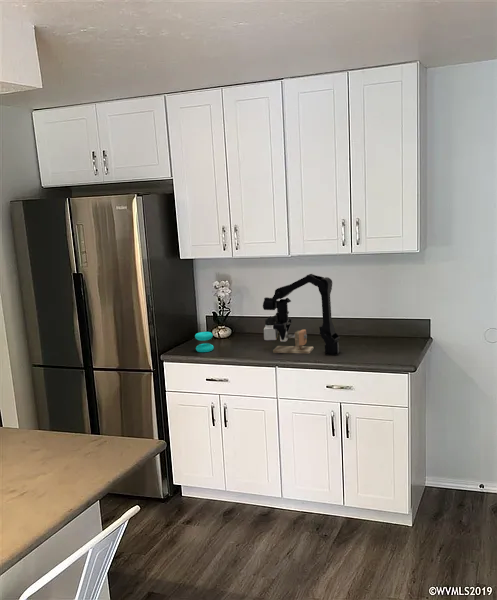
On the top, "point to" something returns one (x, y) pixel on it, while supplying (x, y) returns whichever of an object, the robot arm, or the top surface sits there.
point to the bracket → (293, 347)
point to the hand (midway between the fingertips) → (283, 338)
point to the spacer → (302, 337)
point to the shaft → (289, 337)
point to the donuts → (202, 337)
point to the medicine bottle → (270, 331)
